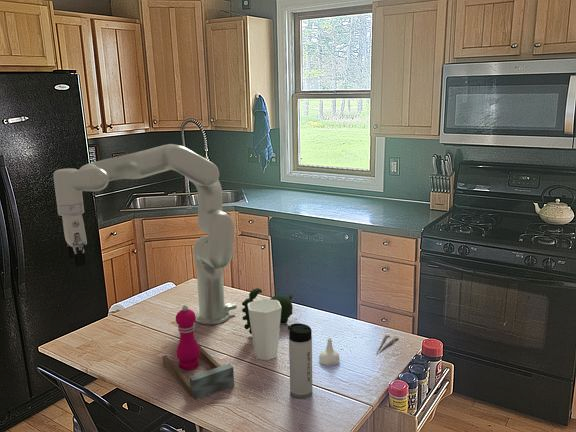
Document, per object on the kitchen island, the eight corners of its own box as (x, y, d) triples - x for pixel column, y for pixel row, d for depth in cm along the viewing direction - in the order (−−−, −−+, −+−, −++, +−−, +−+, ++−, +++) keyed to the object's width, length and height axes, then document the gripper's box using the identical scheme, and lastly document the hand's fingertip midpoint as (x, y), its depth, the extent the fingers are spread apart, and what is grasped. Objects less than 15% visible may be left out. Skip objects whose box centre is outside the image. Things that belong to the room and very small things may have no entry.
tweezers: (385, 336, 176) (385, 331, 175) (399, 339, 173) (399, 334, 173) (365, 361, 162) (365, 356, 161) (379, 365, 159) (379, 360, 159)
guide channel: (199, 352, 166) (198, 335, 165) (234, 385, 147) (233, 367, 145) (163, 363, 160) (161, 345, 159) (193, 400, 140) (192, 380, 139)
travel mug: (288, 386, 146) (286, 321, 141) (310, 385, 146) (310, 320, 142) (289, 399, 139) (288, 331, 135) (313, 397, 140) (313, 330, 135)
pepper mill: (195, 372, 154) (191, 311, 150) (173, 370, 156) (168, 309, 151) (204, 360, 161) (200, 301, 157) (182, 358, 162) (178, 300, 158)
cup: (287, 350, 167) (286, 301, 163) (276, 365, 157) (275, 313, 154) (255, 345, 170) (254, 297, 167) (243, 359, 161) (241, 309, 157)
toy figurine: (260, 349, 171) (303, 317, 189) (254, 298, 165) (300, 271, 184) (239, 342, 177) (283, 312, 195) (233, 292, 171) (279, 266, 190)
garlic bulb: (325, 370, 155) (326, 347, 153) (315, 359, 161) (316, 337, 158) (342, 364, 158) (344, 342, 156) (332, 354, 163) (333, 332, 161)
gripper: (89, 212, 153) (96, 266, 156) (77, 202, 167) (83, 253, 171) (63, 215, 149) (70, 271, 152) (52, 205, 163) (59, 257, 167)
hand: (77, 261), depth 161 cm, fingers open, 9 cm apart
